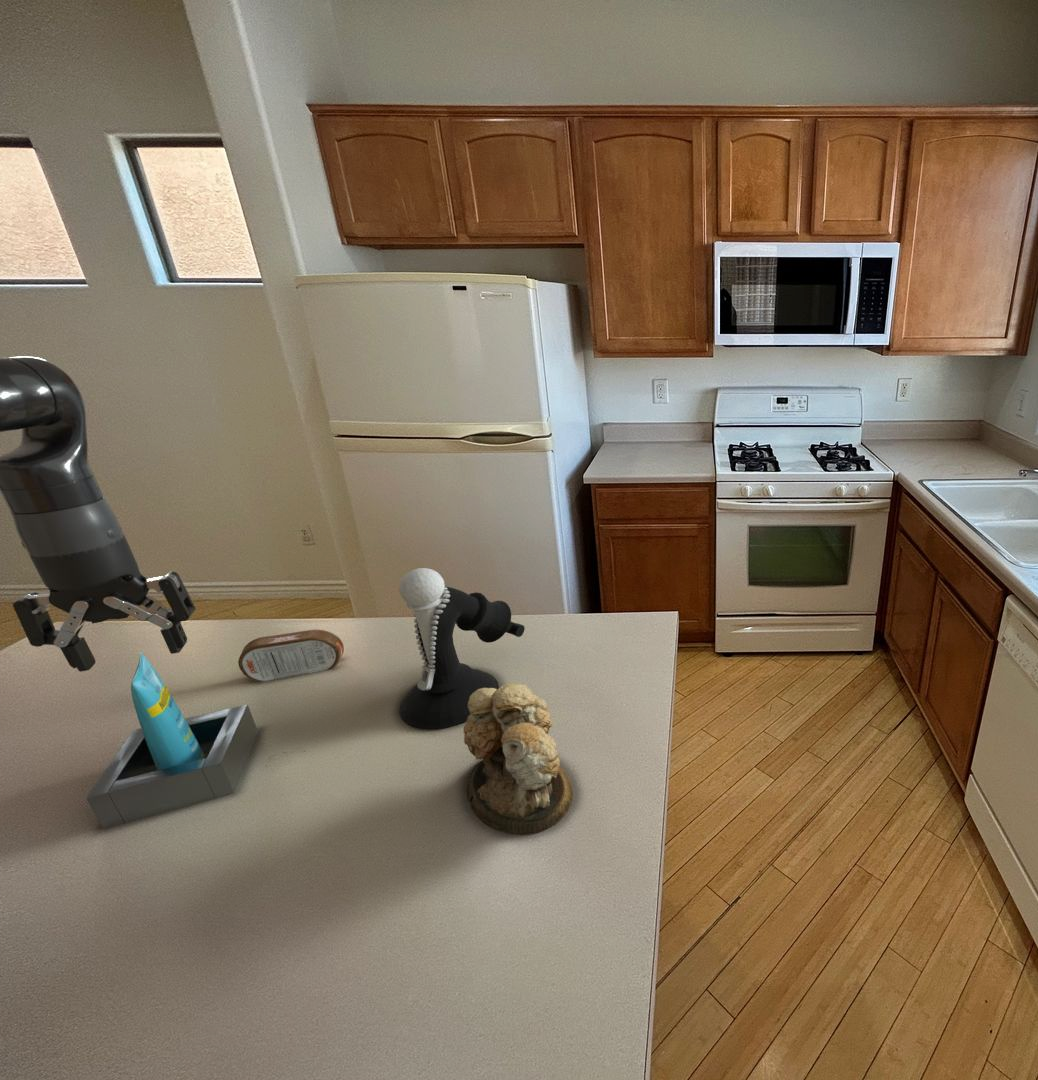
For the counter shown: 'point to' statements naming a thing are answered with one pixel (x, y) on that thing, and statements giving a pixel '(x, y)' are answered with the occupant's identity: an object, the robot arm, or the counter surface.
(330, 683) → the counter surface
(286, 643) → the tin
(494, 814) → the owl figurine
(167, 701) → the tube
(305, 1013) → the counter surface
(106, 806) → the stand
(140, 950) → the counter surface
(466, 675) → the sculpture
